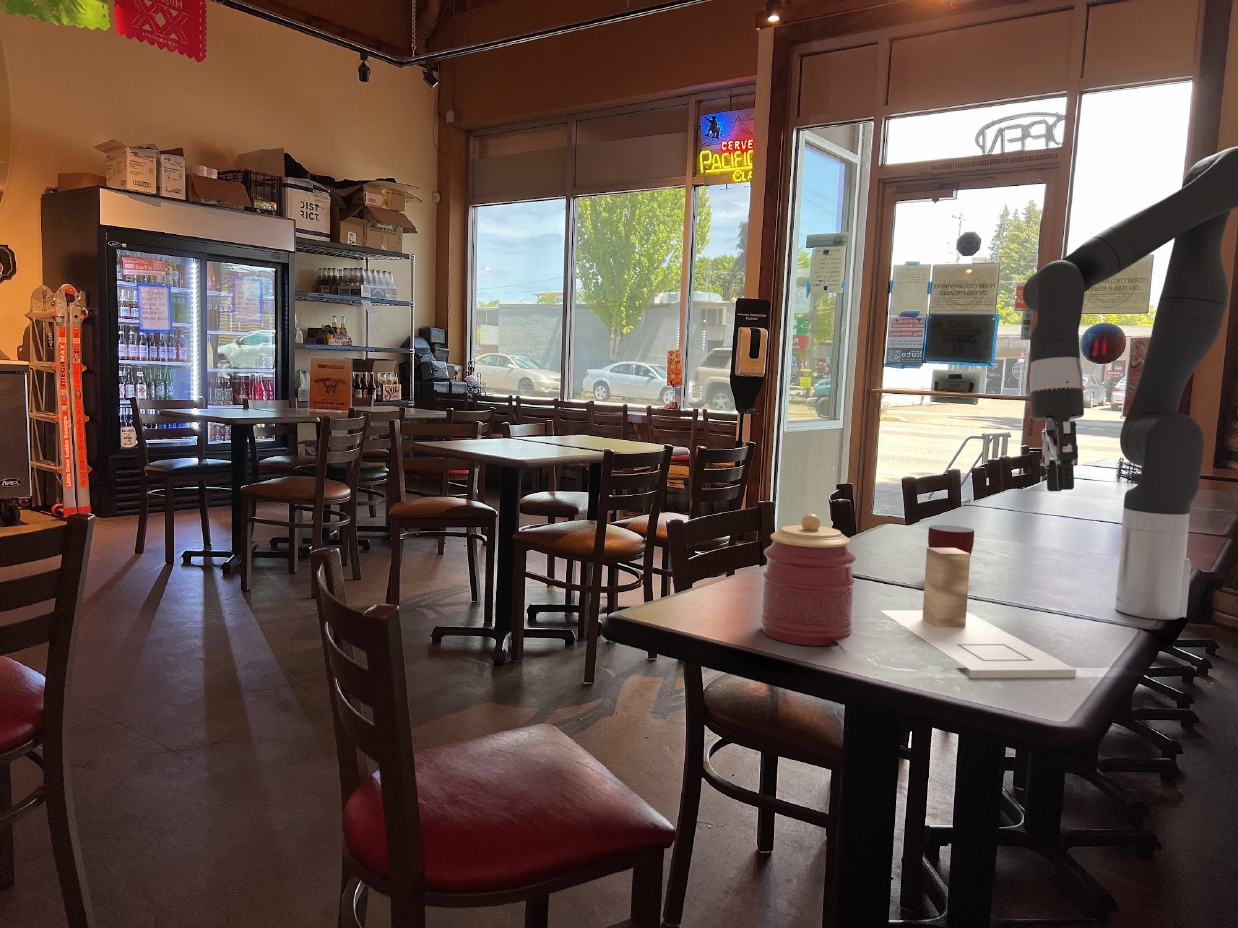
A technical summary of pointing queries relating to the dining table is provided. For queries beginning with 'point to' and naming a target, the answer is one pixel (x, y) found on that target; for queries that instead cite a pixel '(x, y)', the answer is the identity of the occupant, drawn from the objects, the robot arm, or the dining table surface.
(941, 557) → the oak block
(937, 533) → the mug
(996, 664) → the board
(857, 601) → the dining table surface
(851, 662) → the dining table surface
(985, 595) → the dining table surface
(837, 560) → the canister
